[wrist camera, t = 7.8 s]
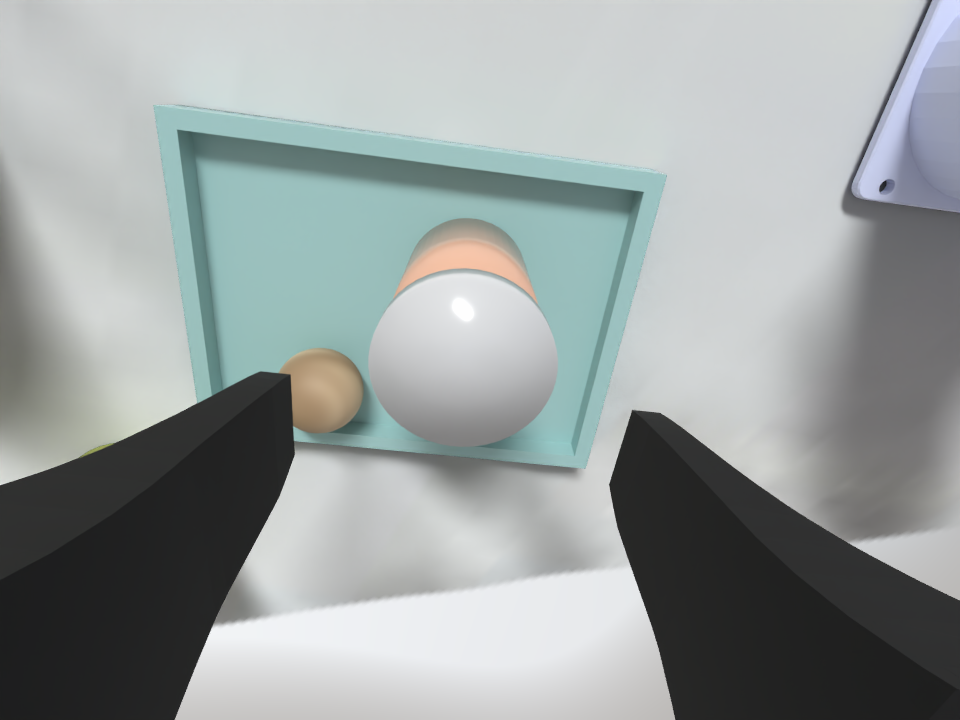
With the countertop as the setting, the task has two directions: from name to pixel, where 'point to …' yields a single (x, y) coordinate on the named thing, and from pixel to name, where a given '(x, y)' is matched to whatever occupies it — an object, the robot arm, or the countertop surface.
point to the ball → (323, 389)
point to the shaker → (464, 339)
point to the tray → (391, 256)
